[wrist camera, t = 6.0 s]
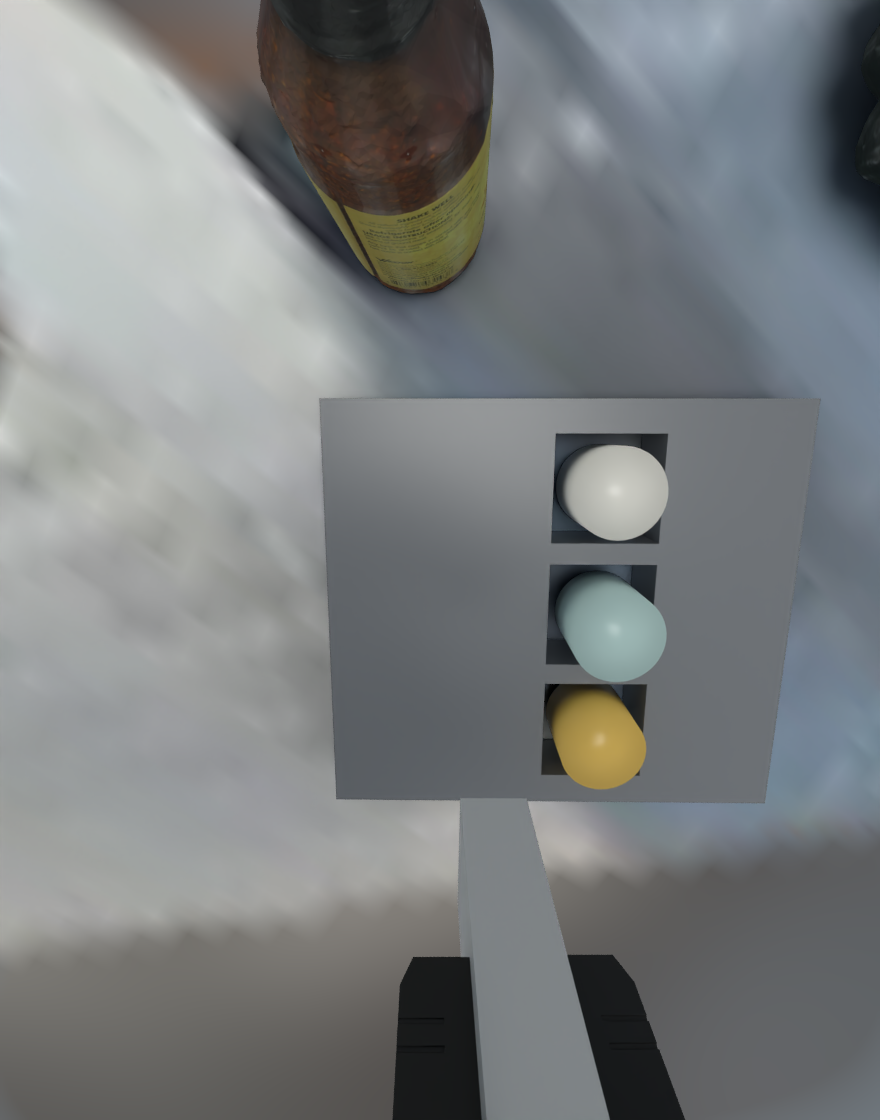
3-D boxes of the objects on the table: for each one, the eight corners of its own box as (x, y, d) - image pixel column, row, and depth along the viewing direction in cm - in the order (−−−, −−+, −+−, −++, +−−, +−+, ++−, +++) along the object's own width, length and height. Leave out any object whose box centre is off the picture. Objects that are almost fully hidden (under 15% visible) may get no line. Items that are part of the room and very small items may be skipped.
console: (347, 761, 33) (336, 799, 30) (334, 402, 29) (319, 398, 26) (731, 764, 33) (764, 803, 30) (776, 402, 29) (820, 398, 25)
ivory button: (554, 525, 29) (570, 540, 25) (557, 444, 28) (575, 445, 24) (634, 526, 29) (664, 540, 25) (641, 444, 28) (672, 446, 24)
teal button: (553, 648, 29) (569, 681, 25) (556, 570, 28) (574, 592, 24) (633, 648, 29) (662, 682, 25) (639, 570, 28) (670, 593, 24)
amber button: (544, 744, 31) (558, 789, 27) (547, 675, 30) (562, 711, 27) (618, 745, 31) (642, 789, 27) (623, 676, 30) (649, 712, 26)
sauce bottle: (507, 207, 27) (662, -370, 8) (434, 326, 28) (405, 89, 9) (389, 120, 26) (225, -763, 7) (319, 245, 27) (9, -207, 8)
